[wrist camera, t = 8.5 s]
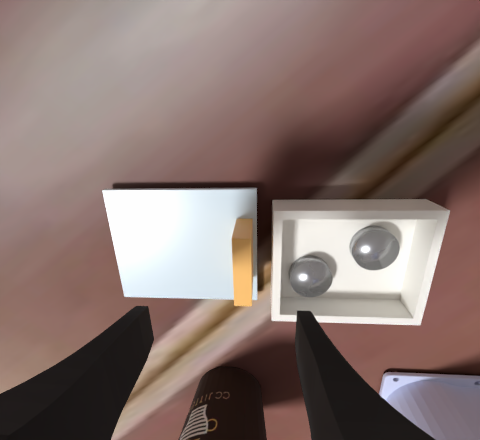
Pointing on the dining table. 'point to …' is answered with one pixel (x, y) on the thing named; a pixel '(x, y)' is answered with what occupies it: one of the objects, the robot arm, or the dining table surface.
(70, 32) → the dining table surface
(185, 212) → the lid
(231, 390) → the coffee mug
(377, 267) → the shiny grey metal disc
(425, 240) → the tub
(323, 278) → the grey shiny rounded part
